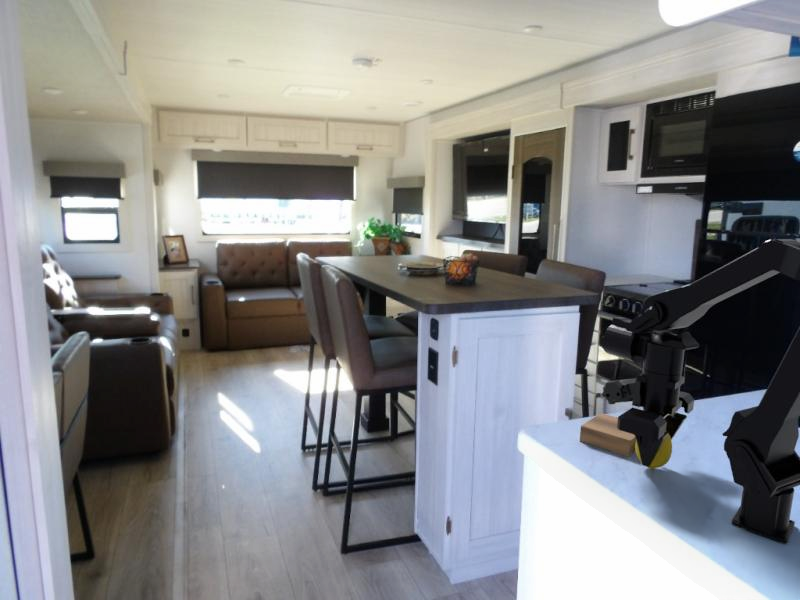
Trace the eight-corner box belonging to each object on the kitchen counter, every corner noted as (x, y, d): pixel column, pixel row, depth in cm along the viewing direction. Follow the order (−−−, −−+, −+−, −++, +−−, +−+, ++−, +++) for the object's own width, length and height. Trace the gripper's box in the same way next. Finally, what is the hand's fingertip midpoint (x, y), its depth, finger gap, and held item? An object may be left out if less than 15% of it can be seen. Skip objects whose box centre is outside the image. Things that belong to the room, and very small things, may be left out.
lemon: (648, 479, 89) (653, 432, 88) (626, 463, 95) (630, 419, 93) (677, 475, 91) (682, 429, 89) (653, 460, 96) (658, 416, 95)
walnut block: (628, 456, 97) (630, 440, 97) (579, 440, 103) (580, 425, 103) (646, 441, 104) (648, 426, 103) (599, 427, 110) (601, 413, 109)
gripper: (633, 349, 102) (625, 430, 105) (589, 370, 88) (581, 462, 91) (699, 362, 94) (689, 448, 97) (662, 387, 81) (651, 486, 84)
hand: (652, 460), depth 92 cm, fingers closed on lemon, 5 cm apart
